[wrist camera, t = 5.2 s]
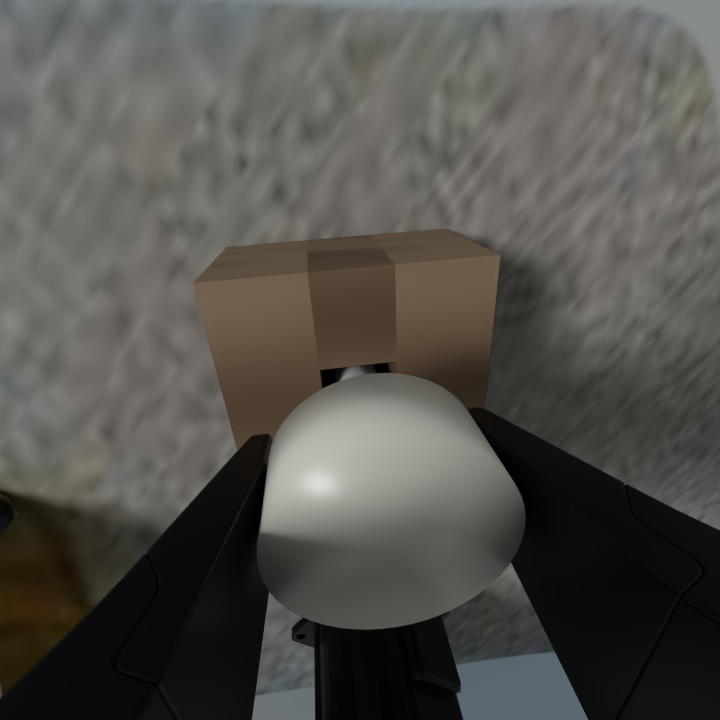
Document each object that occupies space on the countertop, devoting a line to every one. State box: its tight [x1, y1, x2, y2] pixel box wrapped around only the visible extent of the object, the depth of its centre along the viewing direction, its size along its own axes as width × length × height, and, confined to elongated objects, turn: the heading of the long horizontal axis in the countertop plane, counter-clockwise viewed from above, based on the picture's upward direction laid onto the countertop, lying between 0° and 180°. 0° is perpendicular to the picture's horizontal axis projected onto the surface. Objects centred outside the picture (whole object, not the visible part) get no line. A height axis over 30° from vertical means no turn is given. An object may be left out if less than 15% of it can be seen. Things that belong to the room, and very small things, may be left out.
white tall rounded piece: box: [257, 364, 526, 630], centre depth 10 cm, size 4×4×8 cm
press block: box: [193, 229, 501, 450], centre depth 12 cm, size 7×7×4 cm
